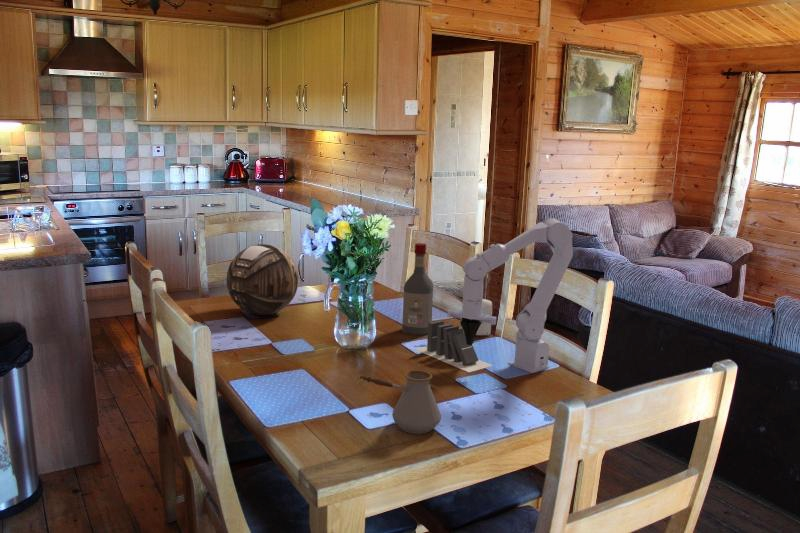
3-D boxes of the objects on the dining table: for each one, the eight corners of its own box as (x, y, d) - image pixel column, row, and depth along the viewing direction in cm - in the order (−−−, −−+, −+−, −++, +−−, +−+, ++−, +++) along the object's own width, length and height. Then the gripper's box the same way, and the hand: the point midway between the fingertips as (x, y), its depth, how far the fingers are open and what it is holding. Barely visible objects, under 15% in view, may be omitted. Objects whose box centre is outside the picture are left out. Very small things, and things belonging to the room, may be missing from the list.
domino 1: (442, 349, 218) (443, 321, 216) (430, 351, 215) (431, 323, 213) (438, 347, 219) (440, 320, 218) (426, 350, 216) (428, 322, 214)
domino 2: (451, 352, 215) (453, 324, 213) (439, 355, 212) (441, 327, 210) (447, 351, 217) (449, 323, 215) (435, 354, 213) (437, 325, 211)
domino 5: (478, 360, 206) (467, 332, 209) (466, 363, 203) (455, 335, 206) (475, 362, 208) (463, 334, 210) (463, 365, 204) (451, 337, 207)
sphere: (312, 312, 254) (313, 244, 249) (264, 328, 233) (264, 255, 228) (261, 300, 267) (261, 236, 261) (211, 315, 246) (210, 245, 241)
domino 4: (469, 357, 209) (462, 328, 210) (457, 361, 206) (450, 331, 207) (465, 358, 211) (458, 329, 212) (453, 361, 207) (446, 332, 208)
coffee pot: (424, 413, 172) (426, 355, 168) (450, 431, 162) (453, 370, 159) (345, 429, 161) (346, 367, 158) (368, 450, 151) (370, 385, 148)
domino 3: (460, 355, 212) (458, 326, 211) (448, 358, 209) (446, 328, 208) (456, 354, 214) (455, 325, 213) (444, 357, 210) (443, 328, 210)
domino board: (493, 366, 206) (493, 365, 205) (469, 373, 199) (469, 372, 199) (438, 344, 224) (438, 343, 223) (414, 350, 217) (414, 349, 217)
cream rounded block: (488, 332, 238) (491, 297, 236) (492, 336, 234) (494, 300, 232) (459, 332, 237) (461, 297, 234) (462, 336, 233) (464, 300, 230)
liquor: (428, 336, 231) (432, 247, 224) (401, 334, 232) (404, 245, 226) (431, 328, 240) (436, 242, 233) (405, 326, 241) (409, 241, 235)
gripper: (501, 299, 202) (497, 344, 205) (454, 292, 209) (452, 336, 212) (493, 305, 196) (489, 351, 199) (445, 297, 202) (443, 342, 205)
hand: (469, 343), depth 205 cm, fingers closed
